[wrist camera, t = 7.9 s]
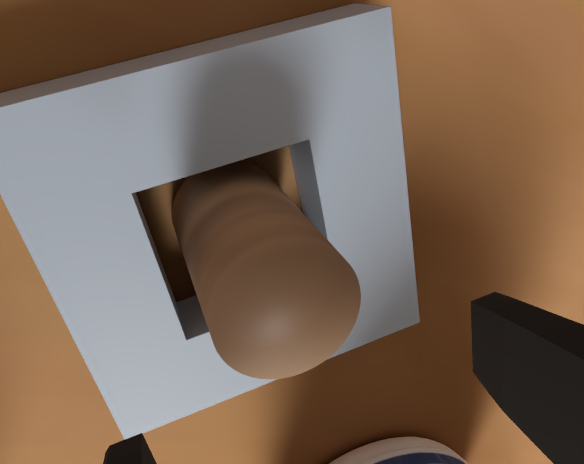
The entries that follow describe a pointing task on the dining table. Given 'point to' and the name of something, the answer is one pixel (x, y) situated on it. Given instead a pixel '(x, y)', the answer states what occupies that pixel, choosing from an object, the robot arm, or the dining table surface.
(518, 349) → the robot arm
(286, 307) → the dowel
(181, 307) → the socket block
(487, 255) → the dining table surface
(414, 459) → the supplement tub
